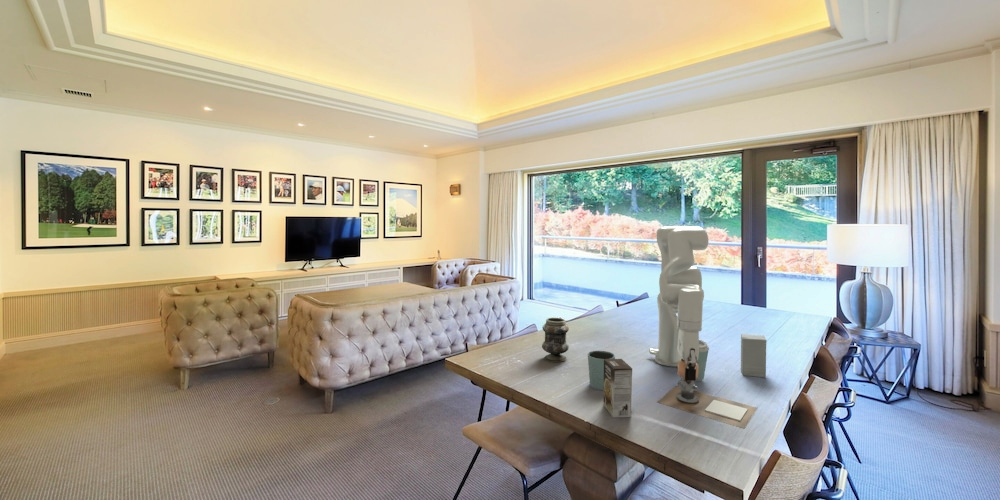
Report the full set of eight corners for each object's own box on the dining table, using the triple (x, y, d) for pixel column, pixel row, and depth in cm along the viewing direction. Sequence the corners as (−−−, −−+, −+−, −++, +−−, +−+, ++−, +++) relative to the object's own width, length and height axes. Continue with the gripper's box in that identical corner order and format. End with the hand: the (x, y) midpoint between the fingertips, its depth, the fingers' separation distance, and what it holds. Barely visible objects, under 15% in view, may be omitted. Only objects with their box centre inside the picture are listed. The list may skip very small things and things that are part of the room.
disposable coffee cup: (706, 387, 150) (708, 348, 149) (675, 381, 156) (676, 343, 155) (709, 377, 159) (710, 340, 158) (679, 372, 165) (680, 336, 164)
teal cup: (599, 393, 146) (600, 360, 145) (581, 383, 155) (581, 352, 154) (620, 387, 151) (621, 356, 150) (601, 378, 159) (602, 348, 159)
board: (656, 404, 136) (656, 402, 136) (675, 388, 149) (675, 385, 149) (744, 432, 119) (744, 428, 119) (757, 410, 132) (757, 407, 132)
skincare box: (763, 372, 164) (764, 334, 163) (766, 379, 158) (768, 339, 157) (739, 369, 168) (740, 332, 167) (741, 375, 161) (742, 337, 160)
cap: (675, 371, 142) (676, 357, 141) (695, 372, 140) (695, 359, 140) (679, 378, 135) (680, 364, 135) (700, 379, 134) (700, 365, 134)
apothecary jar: (572, 357, 184) (573, 318, 183) (562, 365, 174) (562, 324, 173) (548, 352, 191) (549, 315, 189) (537, 359, 181) (537, 320, 179)
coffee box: (602, 405, 136) (603, 358, 135) (620, 404, 137) (621, 357, 136) (612, 418, 127) (613, 368, 126) (631, 417, 128) (632, 367, 127)
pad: (704, 411, 130) (704, 409, 130) (713, 400, 137) (713, 399, 137) (740, 421, 123) (740, 420, 123) (747, 410, 130) (747, 408, 130)
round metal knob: (673, 399, 138) (673, 379, 137) (680, 393, 143) (680, 374, 142) (694, 406, 133) (695, 385, 133) (701, 399, 138) (702, 379, 138)
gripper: (672, 317, 146) (671, 365, 147) (683, 331, 129) (681, 385, 130) (695, 318, 144) (693, 367, 145) (708, 332, 127) (706, 387, 129)
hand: (687, 375), depth 138 cm, fingers closed on cap, 6 cm apart
